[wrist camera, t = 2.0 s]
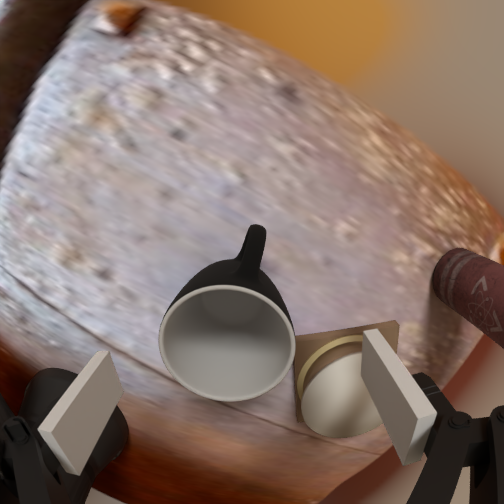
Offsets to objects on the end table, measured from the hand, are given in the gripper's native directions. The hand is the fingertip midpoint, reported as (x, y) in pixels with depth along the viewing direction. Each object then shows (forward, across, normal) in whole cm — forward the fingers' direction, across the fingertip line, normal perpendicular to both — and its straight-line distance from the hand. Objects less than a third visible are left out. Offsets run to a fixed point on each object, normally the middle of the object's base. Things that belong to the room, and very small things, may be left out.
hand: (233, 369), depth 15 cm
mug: (+15, 0, 0) cm, 15 cm away
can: (+15, +22, -3) cm, 27 cm away
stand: (+14, +10, -12) cm, 21 cm away
